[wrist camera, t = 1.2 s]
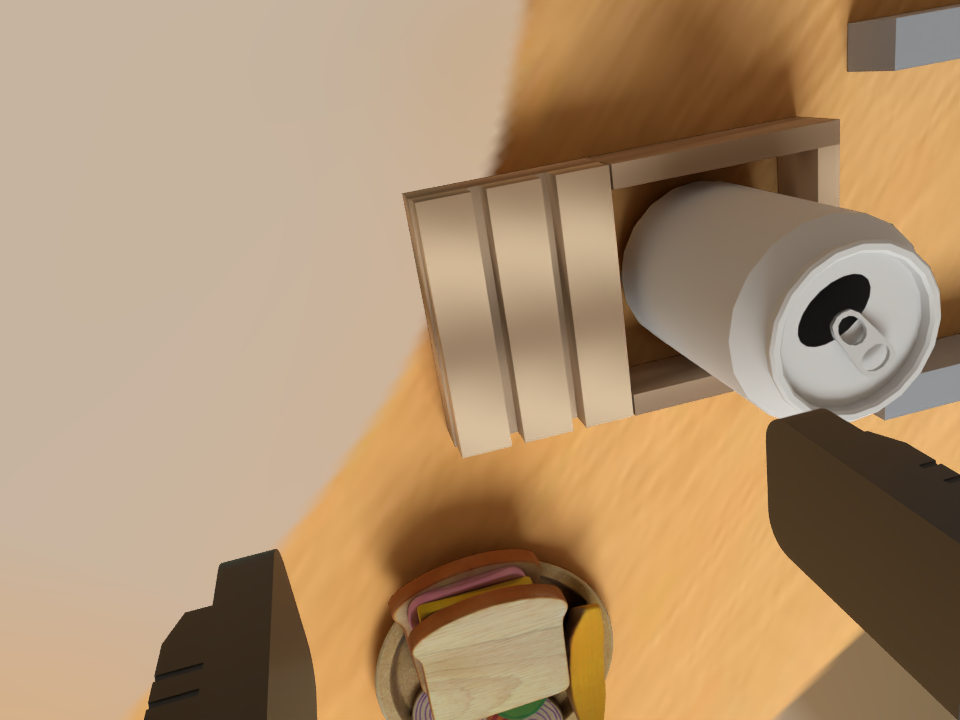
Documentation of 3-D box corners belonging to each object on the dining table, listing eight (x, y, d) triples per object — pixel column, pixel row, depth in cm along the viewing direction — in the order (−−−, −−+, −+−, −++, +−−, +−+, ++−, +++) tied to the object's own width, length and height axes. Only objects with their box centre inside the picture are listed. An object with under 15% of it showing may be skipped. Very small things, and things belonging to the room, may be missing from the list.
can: (705, 141, 35) (896, 168, 24) (792, 259, 38) (1000, 332, 27) (581, 261, 35) (711, 342, 24) (677, 368, 38) (833, 484, 27)
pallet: (402, 193, 33) (412, 203, 30) (797, 116, 35) (839, 119, 33) (447, 430, 37) (460, 458, 34) (800, 345, 39) (838, 364, 36)
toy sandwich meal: (382, 766, 42) (392, 844, 38) (361, 550, 38) (369, 611, 34) (603, 722, 45) (636, 791, 40) (608, 513, 40) (646, 565, 36)
